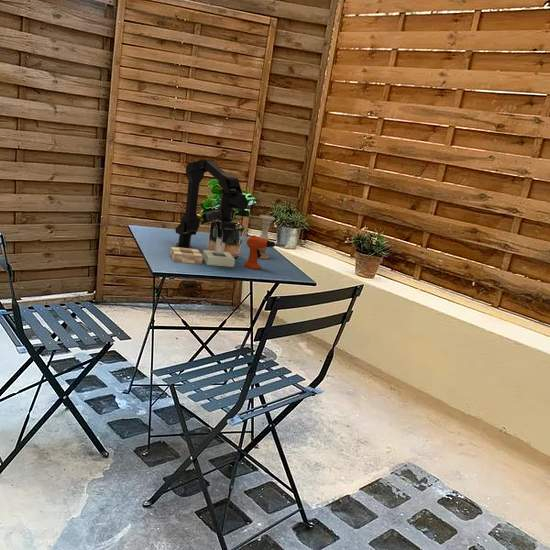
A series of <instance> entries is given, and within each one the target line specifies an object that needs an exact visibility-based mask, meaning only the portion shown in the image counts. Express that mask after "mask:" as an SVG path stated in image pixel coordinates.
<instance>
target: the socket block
mask: <svg viewBox="0 0 550 550" xmlns="http://www.w3.org/2000/svg"><path fill="white" fill-rule="evenodd" d="M169 255H170V257H171V258H172V261H173V262H174V263H183V264H184V263H185V264H196V265H203V256H202V253H201V252H200V250H199V249H198V248H181V247H178V246H170V249H169Z"/></svg>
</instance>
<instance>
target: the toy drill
mask: <svg viewBox="0 0 550 550" xmlns="http://www.w3.org/2000/svg"><path fill="white" fill-rule="evenodd" d="M246 245H247V247H248V248H249V254H248V259H247V261H245V262H244V265H243V266H244V267H245V268H248V269H252V270H255V269H260V270H261V268H262V266H261V265H260V264H259V263H258V261H259V260H258V259H259V257H261V254H260V250H258V249H261V248H266V247H267V249H268V248H274V247H282V248H285V247H286V245H285V244H281V243H276V242H274V241H272V240H270V239H269V240H267V239H264V238H260V236H257V235H251V236H250V237H249V238H247V240H246Z"/></svg>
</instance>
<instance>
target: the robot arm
mask: <svg viewBox="0 0 550 550" xmlns="http://www.w3.org/2000/svg"><path fill="white" fill-rule="evenodd" d="M206 173H209V174H210V175H211V176H212V177H214V179H216V180H217V181H218V185H219V186H220V188H221V190H219V191H218V194H221V196H220V202H219V205H218V207H217V209H213V210H210V211H206V212H205V211H204V212H205V216H206V220H207V221H208V222H211V221H213V223H214V224H215V226H216V232H217V237H222V242H223V243H225V244H226V242H227V241H228V240H229V238H230V237H231V235H232V233H233V232H235V230H237V229H236V228H237V224H236V223H235V222H234V221H233V217H232V216H233V212H234V211H235V209H236V210H238V211H242V212H243V211H245V210H246V209H247V208H248V206H249V202H248V199H247V198H246V196H247V195H246V194H244V193H243V191H242V188H241V184H240V179H239V178H238V177H236V176H235V175H232V174H229V173H227V172H226V171H225V170H223V169H222V168H220V167H219V166H218V165H217V164H216V163H214V161H213V160H212V159H210V158H202V159H200V160H196V161H193V162H189V163H187V164H186V166H185V177H186V180H187V181H188V183H187V184H188V185H187V195H186V203H185V213H184V214H183V215H182V217H181V219H180V223H179V224H178V225H177V226H176V227H175V229H174V230H175V233H176V234H177V235H179V237H178V242H176V247H180V248H190V249H193V248H192V245H191V243H192V242H191V241H192V236H196V235H197V232H198V230H199V228H200V222H201V219H200V218H199V217H198V215H197V210H198V208H197V207H198V200H199V190H200V183H201V182H202V180H203V179H204V176H205V174H206Z"/></svg>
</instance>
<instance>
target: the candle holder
mask: <svg viewBox="0 0 550 550" xmlns="http://www.w3.org/2000/svg"><path fill="white" fill-rule="evenodd" d="M259 219H262V222H263V224H262V226H261V228H262V231H261V234H260V235H259V237H260V238H264V239H267V240H269V241H270V239H269V236H268V233H269V229H270V224H271V223H272V221H275V220H276V218H275V216H272V215H269V214H268V215H267V214H260V215H259ZM267 249H268V248H267V247H266V248H261V249H258V250H260V254H261V257H259V258H258V259H260V260H269V259H270V255H269V253H267V252H266V250H267Z"/></svg>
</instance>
